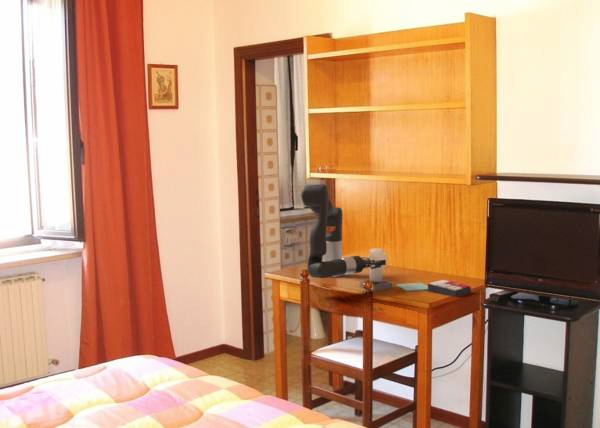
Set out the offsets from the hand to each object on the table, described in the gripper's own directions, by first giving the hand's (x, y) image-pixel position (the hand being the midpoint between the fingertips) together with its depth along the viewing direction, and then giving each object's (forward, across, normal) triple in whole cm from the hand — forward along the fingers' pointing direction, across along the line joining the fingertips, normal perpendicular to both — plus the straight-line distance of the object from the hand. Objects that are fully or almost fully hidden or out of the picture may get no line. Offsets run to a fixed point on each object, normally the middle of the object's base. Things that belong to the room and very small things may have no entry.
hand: (380, 261), depth 308 cm
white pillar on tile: (-1, 0, +9) cm, 9 cm away
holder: (-3, 0, +12) cm, 12 cm away
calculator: (+18, -25, +12) cm, 33 cm away
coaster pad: (+11, -10, +12) cm, 19 cm away
